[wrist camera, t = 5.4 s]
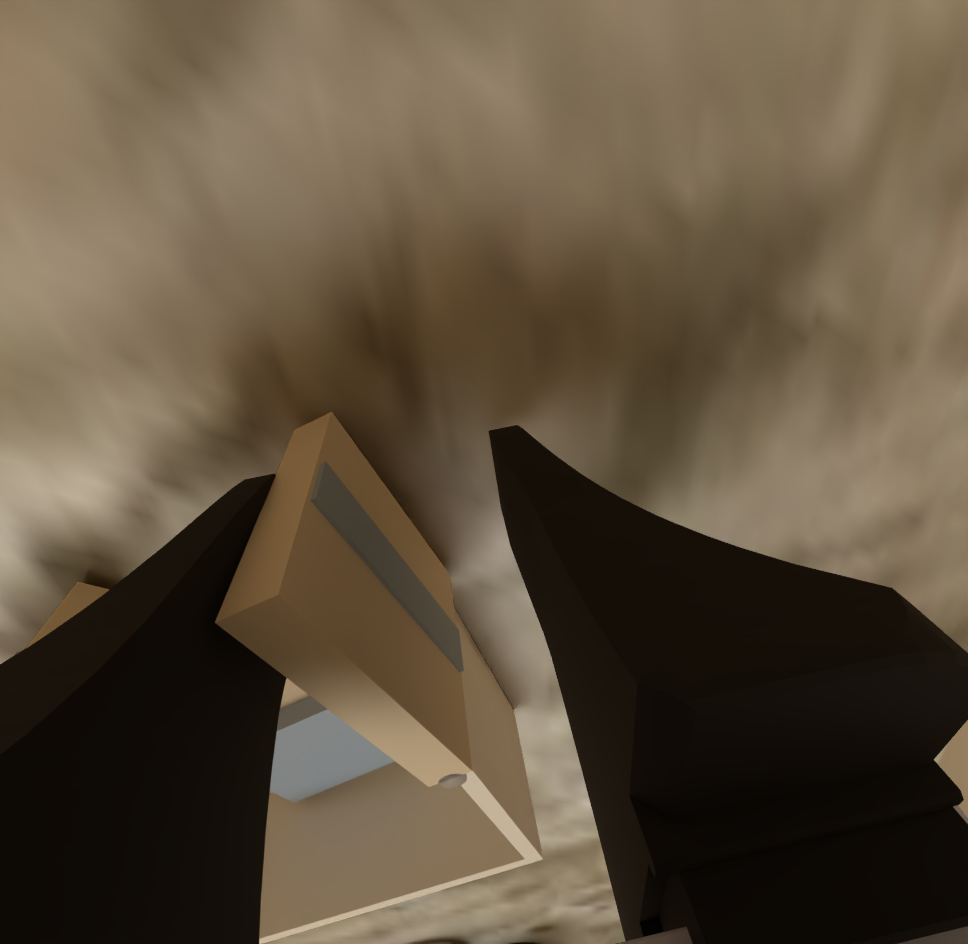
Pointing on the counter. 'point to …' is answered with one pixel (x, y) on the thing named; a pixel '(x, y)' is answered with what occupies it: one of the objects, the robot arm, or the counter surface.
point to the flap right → (354, 605)
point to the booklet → (318, 751)
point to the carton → (401, 824)
